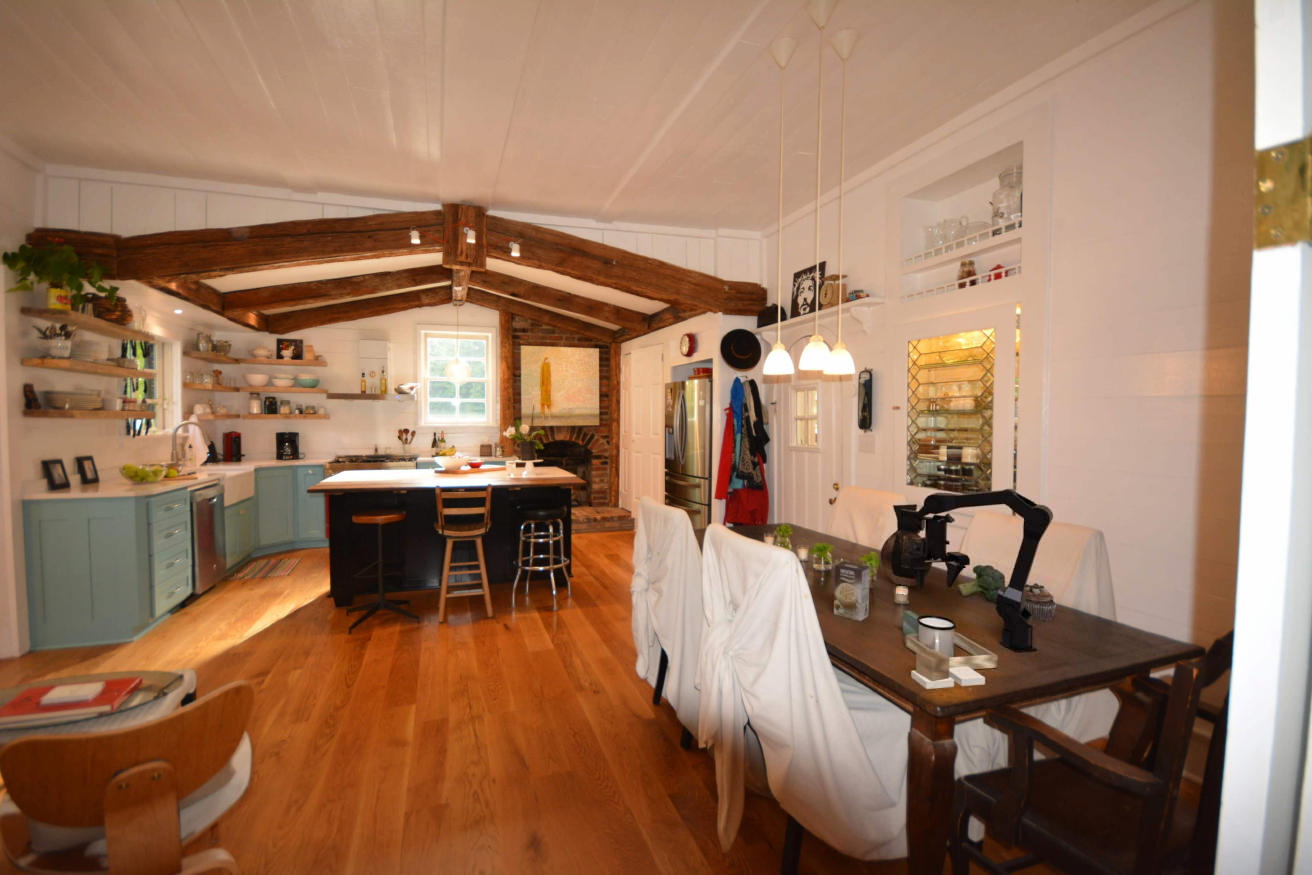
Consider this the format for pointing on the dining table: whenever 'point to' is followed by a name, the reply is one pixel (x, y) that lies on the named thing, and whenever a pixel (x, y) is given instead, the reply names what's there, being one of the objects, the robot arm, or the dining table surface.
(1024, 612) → the robot arm
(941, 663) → the beige cube
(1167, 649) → the dining table surface
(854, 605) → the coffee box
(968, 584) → the vegetable
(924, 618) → the mug
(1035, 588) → the cupcake
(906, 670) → the dining table surface
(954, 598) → the dining table surface
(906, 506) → the ceramic vessel
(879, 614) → the dining table surface
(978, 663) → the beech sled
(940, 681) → the broken cream strip
